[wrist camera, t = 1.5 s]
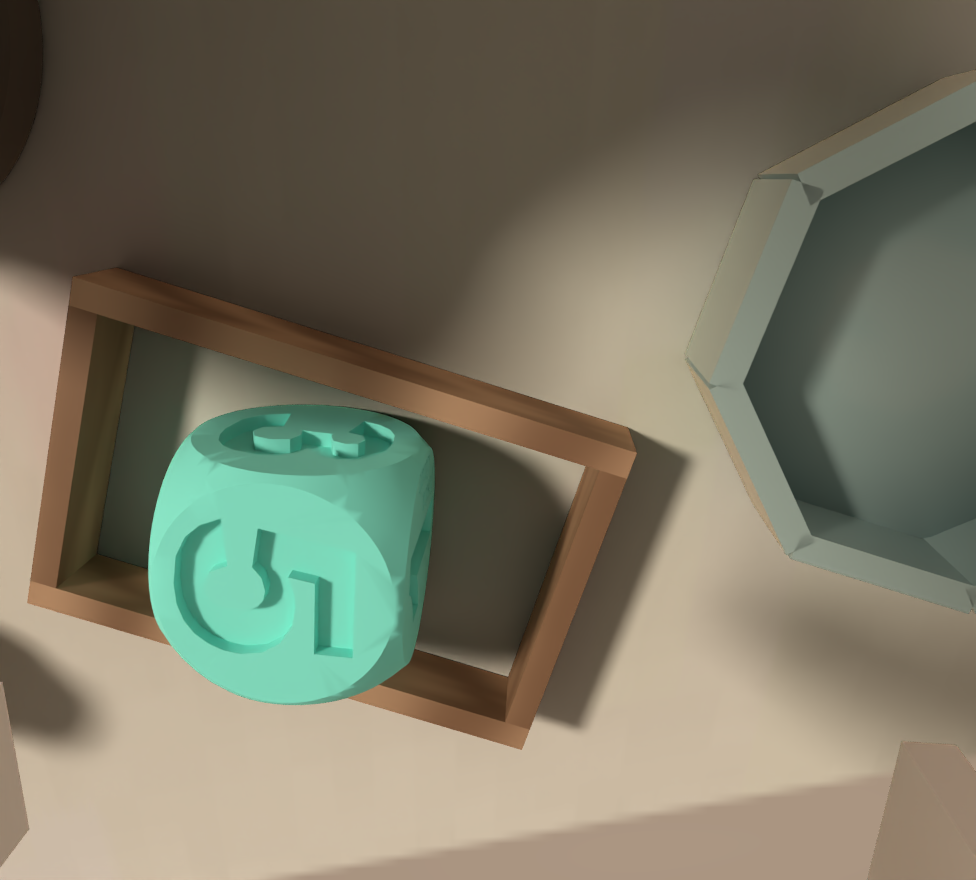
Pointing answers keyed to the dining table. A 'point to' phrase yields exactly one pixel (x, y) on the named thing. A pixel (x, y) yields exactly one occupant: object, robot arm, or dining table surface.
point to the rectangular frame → (342, 365)
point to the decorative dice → (294, 550)
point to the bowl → (858, 348)
